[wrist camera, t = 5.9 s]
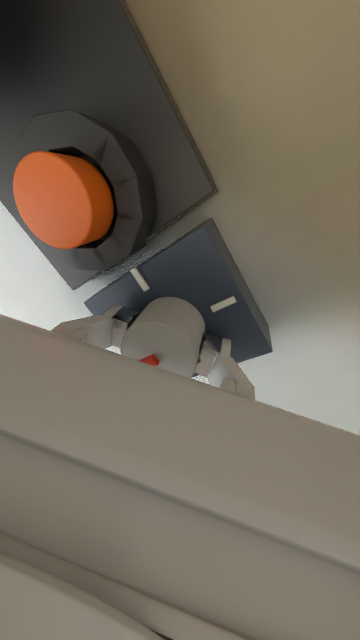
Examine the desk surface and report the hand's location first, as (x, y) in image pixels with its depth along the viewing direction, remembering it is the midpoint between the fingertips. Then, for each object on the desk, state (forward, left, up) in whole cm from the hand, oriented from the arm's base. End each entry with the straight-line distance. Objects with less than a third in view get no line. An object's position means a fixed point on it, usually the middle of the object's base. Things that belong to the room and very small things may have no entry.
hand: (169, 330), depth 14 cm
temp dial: (0, 0, 0) cm, 0 cm away
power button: (+8, 0, 0) cm, 8 cm away
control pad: (0, 0, -4) cm, 4 cm away
